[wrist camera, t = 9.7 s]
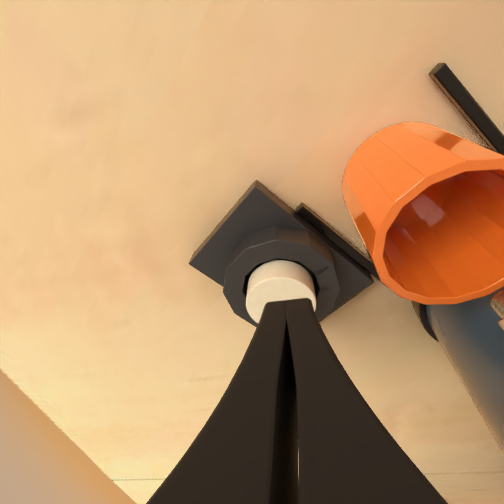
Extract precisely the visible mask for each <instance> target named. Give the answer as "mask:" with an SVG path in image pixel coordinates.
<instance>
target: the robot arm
mask: <svg viewBox="0 0 504 504" xmlns="http://www.w3.org/2000/svg"><path fill="white" fill-rule="evenodd" d="M298 451H299V477H298ZM146 504H448V503H447V502H446V501H445V500H444V499H443V497H442V496H441V495H440V494H439V493H438V492H437V490H436V489H435V488H434V487H433V486H432V484H431V483H430V482H429V481H428V480H427V479H426V477H425V476H424V475H423V474H422V473H421V471H420V470H419V469H418V468H417V467H416V465H415V464H414V463H413V462H412V461H411V459H410V458H409V457H408V456H407V455H406V453H405V452H404V451H403V450H402V449H401V447H400V446H399V445H398V444H397V442H396V441H395V440H394V439H393V437H392V436H391V435H390V433H389V432H388V431H387V429H386V428H385V427H384V426H383V424H382V423H381V422H380V420H379V419H378V418H377V416H376V415H375V414H374V412H373V411H372V409H371V408H370V407H369V405H368V404H367V403H366V401H365V400H364V398H363V397H362V395H361V394H360V392H359V391H358V390H357V388H356V387H355V385H354V384H353V382H352V380H351V379H350V377H349V376H348V374H347V373H346V371H345V370H344V368H343V366H342V365H341V363H340V361H339V360H338V358H337V356H336V354H335V353H334V351H333V349H332V347H331V346H330V344H329V342H328V340H327V338H326V336H325V334H324V332H323V330H322V328H321V326H320V324H319V322H318V319H317V317H316V314H315V311H314V308H313V305H312V300H310V299H309V298H300V299H291V300H281V301H272V302H267V303H266V304H265V306H264V309H263V312H262V315H261V318H260V321H259V323H258V326H257V328H256V331H255V333H254V336H253V338H252V340H251V342H250V344H249V347H248V349H247V351H246V353H245V355H244V357H243V360H242V362H241V364H240V365H239V367H238V369H237V371H236V373H235V375H234V377H233V379H232V380H231V382H230V384H229V386H228V388H227V390H226V391H225V393H224V395H223V397H222V398H221V400H220V402H219V403H218V405H217V407H216V408H215V410H214V411H213V413H212V415H211V416H210V418H209V419H208V421H207V422H206V424H205V425H204V427H203V428H202V430H201V431H200V433H199V434H198V436H197V437H196V439H195V440H194V441H193V443H192V444H191V446H190V447H189V449H188V450H187V451H186V453H185V454H184V456H183V457H182V458H181V460H180V461H179V462H178V464H177V465H176V466H175V468H174V469H173V470H172V472H171V473H170V474H169V476H168V477H167V478H166V479H165V481H164V482H163V483H162V484H161V486H160V487H159V488H158V489H157V491H156V492H155V493H154V494H153V496H152V497H151V498H150V499H149V501H148V502H147V503H146Z"/></svg>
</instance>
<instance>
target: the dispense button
mask: <svg viewBox="0 0 504 504" xmlns="http://www.w3.org/2000/svg"><path fill="white" fill-rule="evenodd" d="M300 298H309V299H310V300H312V305H313V308H314V311H315V309H316V297H315V290H314V284H313V279H312V277H311V275H310V274H309V272H308V271H307V270H306V269H305V268H303V267H302V266H301V265H299V264H297V263H294V262H291V261H286V260H275V261H270V262H267V263H264V264H262V265H261V266H259V267H258V268H257V269H255V271H254V272H253V273H252V274H251V276H250V278H249V282H248V289H247V296H246V308H247V311H248V313H249V315H250V316H251V318H252V319H253V320H254V321H255V322H257V323H259V321H260V318H261V315H262V312H263V309H264V306H265V304H266V303H267V302H272V301H281V300H291V299H300Z"/></svg>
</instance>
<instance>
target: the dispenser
mask: <svg viewBox="0 0 504 504" xmlns="http://www.w3.org/2000/svg"><path fill="white" fill-rule="evenodd" d="M429 75H430V76H431V78H432V79H433V80H434V81H435V82H436V84H437V85H438V86H439V87H440V88H441V89H442V91H443V92H444V93H445V94H446V95H447V97H448V98H449V99H450V100H451V101H452V103H453V104H454V105H455V106H456V107H457V108H458V110H459V111H460V112H461V113H462V114H463V116H464V117H465V118H466V119H467V120H468V122H469V123H470V124H471V125H472V126H473V127H474V129H475V130H476V131H477V132H478V133H479V135H480V136H481V137H482V138H483V139H484V141H485V142H486V143H487V144H488V145H489V146H490V148H491V149H492V150H494V151H497V152H499V153H502V154H504V135H503V134H502V133H501V132H500V130H499V129H498V128H497V127H496V126H495V124H494V123H493V122H492V121H491V119H490V118H489V117H488V116H487V114H486V113H485V112H484V111H483V109H482V108H481V107H480V106H479V105H478V103H477V102H476V101H475V100H474V98H473V97H472V96H471V95H470V93H469V92H468V91H467V90H466V88H465V87H464V86H463V85H462V84H461V82H460V81H459V80H458V79H457V77H456V76H455V75H454V74H453V72H452V71H451V70H450V69H449V67H448V66H447V65H446V64H445V63H439V64H438V65H437V66H436V67H435V68H434V69H433V70H432V71H431V72H430V73H429ZM295 210H296V213H297V214H298V215H299V216H300V217H302V218H303V219H304V220H305V221H306V222H308V223H309V224H310V225H311V226H313V227H314V228H315V229H316V230H318V231H319V232H320V233H321V234H323V235H324V236H325V237H326V238H327V239H329V240H330V241H331V242H332V243H334V244H335V245H336V246H337V247H339V248H340V249H341V250H342V251H343V252H345V253H346V254H347V255H348V256H350V257H351V258H352V259H353V260H355V261H356V262H357V263H358V264H360V265H361V266H362V267H363V268H364V269H366V270H367V271H368V272H369V273H371V274H372V275H373V276H374V277H376V278H377V279H378V280H379V281H380V282H381V280H380V278H379V276H378V274H377V272H376V270H375V268H374V265H373V263H372V261H371V259H369V258H368V257H367V256H366V255H365V254H363V253H362V252H361V251H360V250H359V249H357V248H356V247H355V246H354V245H353V244H351V243H350V242H349V241H348V240H347V239H345V238H344V237H343V236H342V235H341V234H339V233H338V232H337V231H336V230H334V229H333V228H332V227H331V226H330V225H328V224H327V223H326V222H325V221H324V220H322V219H321V218H320V217H319V216H318V215H316V214H315V213H314V212H313V211H312V210H310V209H309V208H308V207H307V206H306V205H304V204H303V203H301V204H300V205H299V206H298V207H297V208H296V209H295ZM382 283H383V282H382ZM383 284H384V283H383ZM384 285H385V284H384ZM385 286H386V285H385ZM412 304H413V307H414V309H415V312H416V314H417V315H418V317H419V319H420V321H421V323H422V325H423V326H424V328H425V329H426V331H427V332H428V333H429V334H430V335H431V336H432V337H433V338H434V339H435V340H437V341H438V342H440V344H441V346H442V347H443V349H444V351H445V353H446V354H447V356H448V358H449V360H450V361H451V363H452V365H453V367H454V368H455V370H456V372H457V374H458V375H459V377H460V379H461V380H462V382H463V384H464V386H465V387H466V389H467V391H468V393H469V394H470V396H471V398H472V400H473V401H474V403H475V405H476V407H477V408H478V410H479V412H480V414H481V415H482V417H483V419H484V421H485V422H486V424H487V426H488V428H489V429H490V431H491V433H492V435H493V436H494V438H495V440H496V442H497V443H498V445H499V447H500V449H501V450H502V452H503V454H504V286H503V287H502V288H500V289H498V290H496V291H495V292H493V293H491V294H489V295H487V296H483V297H480V298H476V299H473V300H469V301H465V302H462V303H458V304H435V305H426V304H422V303H418V302H415V301H412Z"/></svg>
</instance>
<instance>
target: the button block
mask: <svg viewBox="0 0 504 504" xmlns="http://www.w3.org/2000/svg"><path fill="white" fill-rule="evenodd" d="M275 260H286V261H291V262H294V263H297V264H299V265H301V266H302V267H303V268H305V269H306V270H307V271H308V272H309V274H310V275H311V277H312V279H313V284H314V290H315V297H316V309H315V314H316V317H317V319H318V322H320V321H321V320H323V319H324V318H325V317H327V316H328V315H329V314H331V313H332V312H334V311H335V310H336V309H338V308H339V307H340V306H342V305H343V304H345V303H346V302H347V301H349V300H350V299H351V298H353V297H354V296H355V295H357V294H358V293H360V292H361V291H362V290H364V289H365V288H366V287H368V286H369V285H371V284H372V283H373V279H372V277H371V275H370V273H369V272H368V271H367V270H366V269H364V268H363V267H362V266H361V265H360V264H358V263H357V262H356V261H355V260H353V259H352V258H351V257H350V256H348V255H347V254H346V253H345V252H343V251H342V250H341V249H340V248H339V247H337V246H336V245H335V244H334V243H332V242H331V241H330V240H329V239H327V238H326V237H325V236H324V235H323V234H321V233H320V232H319V231H318V230H316V229H315V228H314V227H313V226H311V225H310V224H309V223H308V222H306V221H305V220H304V219H303V218H302V217H300V216H299V215H298V214H297V213H296V212H295V211H294V210H293V209H291V208H290V207H289V206H288V205H287V204H285V203H284V202H283V201H282V200H280V199H279V198H278V197H277V196H275V195H274V194H273V193H272V192H271V191H269V190H268V189H267V188H266V187H264V186H263V185H262V184H261V183H259V182H258V181H257V180H256V181H255V182H254V183H253V184H252V185H251V187H250V188H249V189H248V190H247V191H246V192H245V194H244V195H243V196H242V197H241V198H240V199H239V201H238V202H237V203H236V204H235V205H234V207H233V208H232V209H231V210H230V211H229V212H228V214H227V215H226V216H225V217H224V218H223V220H222V221H221V222H220V223H219V224H218V225H217V227H216V228H215V229H214V230H213V231H212V233H211V234H210V235H209V236H208V237H207V238H206V240H205V241H204V242H203V243H202V244H201V246H200V247H199V248H198V249H197V250H196V251H195V253H194V254H193V256H192V258H191V260H190V262H189V264H190V265H191V266H193V267H194V268H196V269H197V270H199V271H200V272H202V273H203V274H205V275H206V276H208V277H209V278H211V279H212V280H214V281H215V282H217V283H218V284H220V285H222V286H223V287H224V288H223V293H224V295H225V297H226V299H227V300H228V302H229V304H230V306H231V308H232V310H233V311H234V313H235V314H236V315H238V316H240V317H241V318H243V319H244V320H246V321H247V322H249V323H251V324H252V325H254V326H255V327H257V326H258V323H257V322H255V321H254V320H253V319H252V318H251V316H250V315H249V313H248V311H247V308H246V296H247V289H248V282H249V278H250V276H251V274H252V273H253V272H254V271H255V269H257V268H258V267H259V266H261V265H262V264H264V263H267V262H270V261H275Z"/></svg>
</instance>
